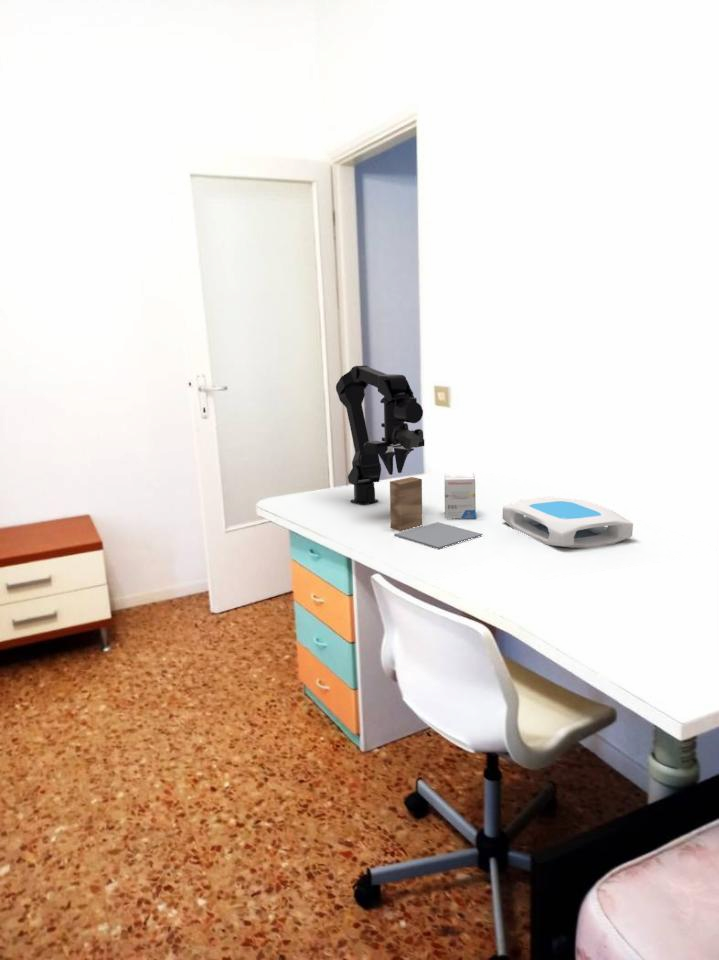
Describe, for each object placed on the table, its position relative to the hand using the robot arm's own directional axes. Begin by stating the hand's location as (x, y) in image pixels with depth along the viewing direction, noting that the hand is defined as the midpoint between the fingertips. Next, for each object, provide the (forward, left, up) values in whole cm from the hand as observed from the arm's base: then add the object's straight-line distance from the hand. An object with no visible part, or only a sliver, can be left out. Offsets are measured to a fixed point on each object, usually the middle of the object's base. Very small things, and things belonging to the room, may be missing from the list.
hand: (395, 473), depth 199 cm
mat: (+24, -7, -12) cm, 28 cm away
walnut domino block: (+12, -7, -12) cm, 18 cm away
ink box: (+14, +12, -12) cm, 22 cm away
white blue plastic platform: (+44, +19, -12) cm, 50 cm away
